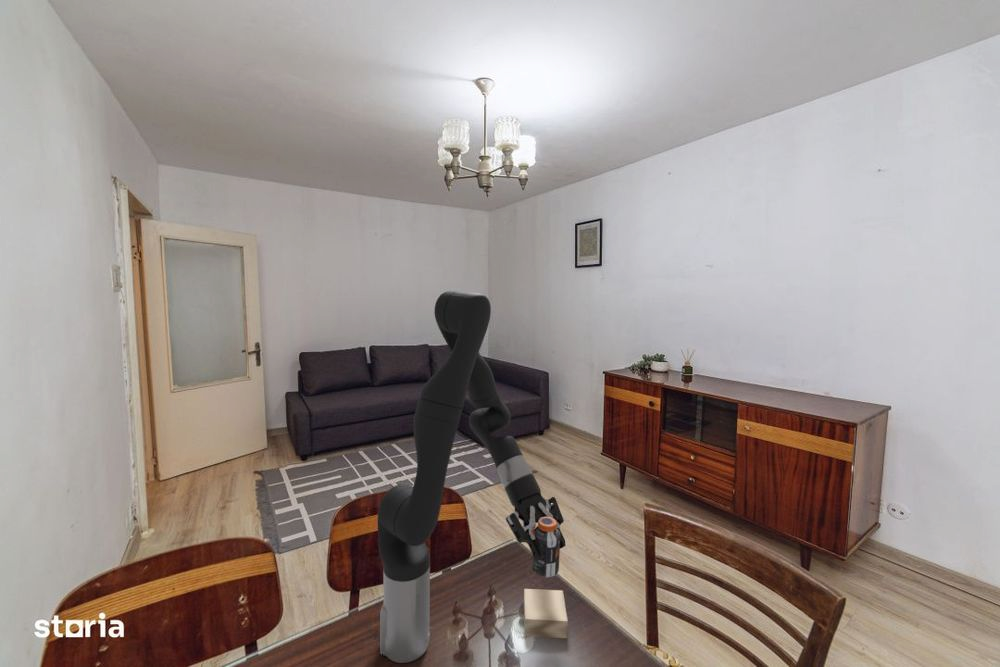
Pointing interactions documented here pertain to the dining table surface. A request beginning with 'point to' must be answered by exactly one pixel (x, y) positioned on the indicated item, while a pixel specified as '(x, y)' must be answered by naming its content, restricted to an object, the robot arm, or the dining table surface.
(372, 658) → the dining table surface
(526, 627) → the maple block
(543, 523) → the pill bottle
